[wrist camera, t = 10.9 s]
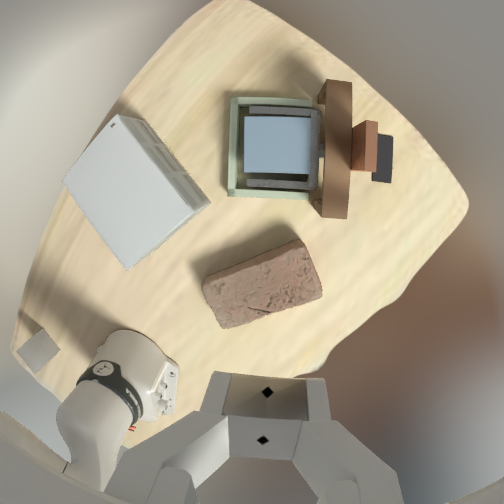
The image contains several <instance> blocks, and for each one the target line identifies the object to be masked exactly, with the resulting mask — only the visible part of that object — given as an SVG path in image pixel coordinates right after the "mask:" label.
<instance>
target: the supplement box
mask: <svg viewBox="0 0 504 504" xmlns="http://www.w3.org/2000/svg"><path fill="white" fill-rule="evenodd" d="M62 181H63V183H64V185H65V186H66V188H67V189H68V191H69V192H70V194H71V195H72V197H73V198H74V200H75V201H76V203H77V204H78V206H79V207H80V209H81V210H82V212H83V213H84V215H85V216H86V217H87V219H88V220H89V222H90V223H91V224H92V226H93V227H94V229H95V230H96V231H97V233H98V234H99V235H100V237H101V238H102V239H103V241H104V242H105V243H106V245H107V246H108V247H109V249H110V250H111V251H112V253H113V254H114V255H115V257H116V258H117V259H118V260H119V262H120V263H121V264H122V265H123V267H124V268H125V269H126V270H127V271H128V270H129V269H131V268H132V267H133V266H134V265H136V264H137V263H138V262H140V261H141V260H143V259H144V258H145V257H147V256H148V255H150V254H151V253H153V252H154V251H155V250H157V249H158V248H159V247H160V246H161V245H162V244H163V243H165V242H166V241H167V240H168V239H169V238H170V237H172V236H173V235H174V234H175V233H176V232H177V231H178V230H180V229H181V228H182V227H183V226H184V225H185V224H187V223H188V222H189V221H190V220H191V219H193V218H194V217H195V216H196V215H197V214H199V213H200V212H201V211H202V210H203V209H205V208H206V207H207V206H208V205H210V204H211V202H210V200H209V199H208V198H207V196H206V195H205V194H204V193H203V191H202V190H201V189H200V188H199V186H198V185H197V184H196V183H195V181H194V180H193V179H192V178H191V176H190V175H189V174H188V173H187V171H186V170H185V169H184V168H183V167H182V165H181V164H180V163H179V162H178V160H177V159H176V158H175V157H174V155H173V154H172V153H171V152H170V150H169V149H168V148H167V147H166V145H165V144H164V143H163V142H162V140H161V139H160V138H159V137H158V135H157V134H156V133H155V132H154V130H153V129H152V128H151V127H150V125H149V124H148V123H147V121H144V120H140V119H136V118H132V117H128V116H124V115H120V114H116V115H115V116H114V117H113V118H112V119H111V120H110V121H109V122H108V123H107V125H106V126H105V127H104V128H103V129H102V130H101V132H100V133H99V134H98V135H97V136H96V138H95V139H94V140H93V141H92V142H91V144H90V145H89V146H88V147H87V149H86V150H85V151H84V152H83V154H82V155H81V156H80V157H79V159H78V160H77V161H76V163H75V164H74V165H73V167H72V168H71V169H70V170H69V172H68V173H67V175H66V176H65V178H64V179H63V180H62Z"/></svg>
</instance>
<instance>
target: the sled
mask: <svg viewBox="0 0 504 504" xmlns="http://www.w3.org/2000/svg"><path fill="white" fill-rule="evenodd" d="M249 114H250V116H272V117H299V118H311V156H310V174H306V182H305V181H290V180H273V179H249V178H248V179H247V186H251V187H273V188H290V189H305V190H316V187H318V171H319V158H324V146H325V143H320V111H319V110H315V109H302V108H287V107H262V106H249ZM377 139H378V122H375V121H369V120H365V121H364V122H362V123H360V124H358V125H356V126H355V127H353V128H352V148H351V170H350V171H363V172H376V165H377Z"/></svg>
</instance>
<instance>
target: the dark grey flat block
mask: <svg viewBox="0 0 504 504" xmlns="http://www.w3.org/2000/svg"><path fill="white" fill-rule="evenodd" d="M392 160H393V137H390V136H385V135H379V134H378V139H377V165H376V172H373V177H372V181H377V182H385V183H391V178H392Z"/></svg>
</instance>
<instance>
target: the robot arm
mask: <svg viewBox="0 0 504 504" xmlns="http://www.w3.org/2000/svg"><path fill="white" fill-rule="evenodd" d="M96 353H97V355H96V356H95V357H94V359H93V360H92V362H91V363H90V365H89V366H88V368H87V370H86V371H85V372H84V373H83V375H81V376H80V378H79V380H78V381H77V383H76V387H75V388H74V390H73V391H72V392H71V393H70V394H69V396H68V397H67V398H66V399H65V400H64V402H63V403H62V404H61V405H60V407H59V408H58V410H57V414H56V415H57V416H56V421H57V426H58V429H59V431H60V434H61V436H62V437H63V439H64V441H65V442H66V444H67V446H68V448H69V450H70V453H71V463H69V462H67V461H65V460H64V459H63V458H62V457H60V456H59V455H58V454H56V453H55V452H54V451H53V450H52V449H50V448H49V447H48V446H47V445H46V444H44V443H43V442H42V441H41V440H40V439H39V438H38V437H37V436H36V435H34V434H33V433H32V432H31V431H30V430H29V429H27V428H26V427H24V426H23V425H22V424H20V423H19V422H18V421H16V420H15V419H13V418H12V417H11V416H9V415H8V414H7V413H5V412H1V411H0V504H199V500H198V497H197V494H196V490H195V488H197V487H198V486H199V485H200V484H201V483H202V482H203V481H205V479H207V478H208V477H209V476H210V475H211V474H212V473H213V472H214V471H216V469H218V468H219V467H220V466H221V465H222V464H223V463H224V462H225V461H226V460H227V459H228V458H229V456H238V457H250V458H266V459H278V460H292V462H293V463H294V465H295V466H296V468H297V469H298V471H299V472H300V473H301V475H302V476H303V478H304V479H305V480H306V482H307V483H308V484H309V486H310V487H311V488H312V490H313V491H314V493H315V494H316V495H317V496H318V498H319V500H318V501H317V503H316V504H404V502H403V498H402V494H401V490H400V486H399V482H398V478H397V474H396V472H395V471H394V470H393V469H392V468H390V467H389V466H388V465H386V464H385V463H384V462H383V461H382V460H381V459H379V458H378V457H377V456H376V455H375V454H374V453H373V452H371V451H370V450H369V449H368V448H367V447H366V446H364V445H363V444H362V443H361V442H360V441H359V440H358V439H357V438H355V437H354V436H353V435H352V434H351V433H350V432H349V431H348V430H346V429H345V428H344V427H343V426H342V425H341V424H340V423H339V422H338V421H331V416H330V409H329V403H328V397H327V390H326V384H325V380H324V379H323V378H305V379H303V378H278V377H264V376H254V375H245V374H236V373H233V374H232V373H226V372H219V371H214V372H213V374H212V376H211V379H210V382H209V385H208V388H207V390H206V393H205V396H204V399H203V402H202V405H201V408H200V411H193V412H191V413H190V414H188V415H186V416H185V417H183V418H182V419H180V420H178V421H177V422H175V423H174V424H172V425H170V426H169V427H167V428H165V429H164V430H162V431H160V432H159V433H157V434H155V435H154V436H152V437H150V438H148V439H147V440H145V441H143V442H141V443H140V444H138V445H136V446H134V447H132V448H131V449H129V450H127V451H125V452H124V453H123V455H122V457H121V459H120V461H119V463H118V465H117V467H116V459H117V454H118V451H119V449H120V446H121V444H122V441H123V439H124V437H125V435H126V433H127V431H128V430H130V431H134V430H132V429H129V428H135V429H136V427H134V426H132V425H133V424H134V423H136V422H137V421H143V422H153V421H156V420H158V418H159V417H160V415H167V414H172V413H173V412H174V411H175V406H176V396H177V387H178V377H179V366H178V365H177V364H176V363H175V362H174V361H172V360H171V359H169V358H168V357H166V356H165V355H164V354H163V352H162V351H161V350H160V349H159V348H158V346H157V345H156V344H154V343H153V342H152V341H151V340H150V339H148V338H147V337H145V336H143V335H141V334H139V333H137V332H134V331H131V330H117V331H114V332H112V333H111V334H110V335H109V336H108V338H107V340H106V342H105V343H104V344H103V345H101V346H99V347H98V349H97V350H96ZM172 372H173V373H172ZM445 504H504V477H503V478H501V479H499V480H498V481H496V482H494V483H492V484H490V485H488V486H486V487H484V488H481V489H479V490H477V491H475V492H473V493H470V494H468V495H466V496H463V497H461V498H458V499H456V500H453V501H450V502H448V503H445Z"/></svg>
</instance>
